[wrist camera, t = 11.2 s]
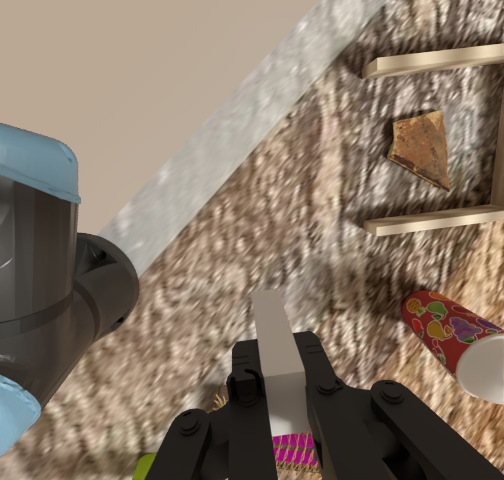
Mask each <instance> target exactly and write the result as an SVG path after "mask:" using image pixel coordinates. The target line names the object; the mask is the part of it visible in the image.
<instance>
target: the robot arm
mask: <svg viewBox="0 0 504 480" xmlns="http://www.w3.org/2000/svg"><path fill="white" fill-rule="evenodd" d="M80 203H81V198H80V197H79V196H78V162H77V159H76V156H75V154H74V153H73V151H72V150H71V149H70V148H69V147H67V145H65V144H64V143H62V142H61V141H59V140H56V139H54V138H50V137H47V136H44V135H40V134H37V133H33V132H30V131H27V130H23V129H20V128H17V127H13V126H10V125H6V124H3V123H0V456H1V455H3V454H4V453H5V452H6V451H8V450H9V449H10V448H11V447H12V446H13V445H14V444H15V442H16V441H17V440H18V439H19V438H20V437H21V436H22V435H23V434H24V433H25V432H26V431H27V429H28V428H29V427H30V426H31V425H32V424H34V423H35V421H36V420H37V419H38V418H39V416H40V415H41V411H42V410H43V409H44V407H45V406H46V405H47V403H48V402H49V401H50V399H51V398H52V397H53V395H54V394H55V392H56V391H57V390H58V388H59V387H60V386H61V384H62V383H63V382H64V380H65V379H66V378H67V376H68V375H69V374H70V372H71V371H72V370H73V368H74V367H75V366H76V364H77V363H78V362H79V360H80V359H81V358H82V356H83V355H84V354H85V352H86V351H87V350H88V348H89V347H90V345H91V344H92V343H94V342H96V341H97V340H99V339H101V338H103V337H104V336H106V335H108V334H110V333H111V332H113V331H115V330H116V329H117V328H119V327H120V326H121V325H122V324H123V323H124V322H125V321H126V319H127V318H128V316H129V315H130V313H131V312H132V310H133V309H134V307H135V305H136V302H137V299H138V295H139V281H138V277H137V273H136V271H135V268H134V266H133V265H132V263H131V261H130V260H129V258H128V257H127V256H126V255H125V254H124V253H123V252H122V251H121V250H120V249H119V248H118V247H117V246H115V245H114V244H112V243H111V242H109V241H107V240H105V239H103V238H101V237H98V236H95V235H91V234H87V233H77V222H78V206H79V204H80ZM251 293H252V301H253V309H254V316H255V324H256V332H257V339H253V340H246V341H239V342H236V344H235V345H234V347H233V349H232V372H231V374H230V375H229V376H228V378H227V381H226V385H227V391H228V396H229V400H228V402H227V403H226V404H225V405H224V406H223V407H221V408H220V409H218V410H216V411H214V412H212V413H209V414H207V413H206V412H205V411H204V410H201V409H197V408H196V409H189V410H187V411H184V412H182V413H181V414H180V415H178V416H177V417H176V418H175V419H174V421H173V422H172V424H171V426H170V428H169V430H168V432H167V434H166V436H165V438H164V440H163V442H162V444H161V446H160V448H159V450H158V452H157V454H156V456H155V458H154V461H153V463H152V465H151V467H150V469H149V471H148V473H147V475H146V477H145V479H144V480H225V479H227V478H228V480H278V476H277V469H276V462H275V454H274V447H273V440H272V437H273V436H280V435H287V434H293V433H300V432H307V431H310V428H311V431H312V436H313V449H314V461H318V465H319V468H320V472H321V476H322V479H323V480H504V475H503V474H502V473H501V472H500V471H499V470H498V469H497V468H496V467H494V466H493V465H492V464H491V463H490V462H489V461H488V460H487V459H486V458H484V457H483V456H482V455H481V454H480V453H479V452H478V451H477V450H476V449H475V448H473V447H472V446H471V445H470V444H469V443H468V442H467V441H466V440H465V439H463V438H462V437H461V436H460V435H459V434H458V433H457V432H456V431H455V430H453V429H452V428H451V427H450V426H449V425H448V424H447V423H446V422H445V421H443V420H442V419H441V418H440V417H439V416H438V415H437V414H436V413H435V412H433V411H432V410H431V409H430V408H429V407H428V406H427V405H426V404H425V403H423V402H422V401H421V400H420V399H419V398H418V397H417V396H416V395H415V394H413V393H412V392H411V391H410V390H409V389H408V388H407V387H405V386H404V385H402V384H401V383H398V382H395V381H392V380H381V381H377V382H376V383H374V384H373V385H372V387H371V390H365V389H357V388H353V387H350V386H347V385H346V384H345V383H344V382H343V381H342V379H340V378H338V377H337V376H336V374H335V372H334V370H333V368H332V366H331V364H330V362H329V360H328V357H327V355H326V353H325V352H324V349H323V347H322V345H321V342H320V340H319V338H318V336H316V335H315V334H314V333H313V332H311V331H305V332H298V333H292V330H291V327H290V324H289V321H288V318H287V315H286V312H285V309H284V306H283V303H282V300H281V297H280V294H279V291H278V289H271V290H264V291H257V292H251ZM309 424H310V427H309Z"/></svg>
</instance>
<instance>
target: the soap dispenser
mask: <svg viewBox="0 0 504 480" xmlns="http://www.w3.org/2000/svg"><path fill="white" fill-rule="evenodd" d="M156 454H157V453H151V454H147V455H144V456H143V457H141V458H140V459H139V461H138V463H137V467H136V470H135V473H134V476H133V479H132V480H144V479H145V477H146V475H147V473H148V471H149V469H150V467H151V465H152V463H153V461H154V458H155V456H156Z"/></svg>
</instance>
